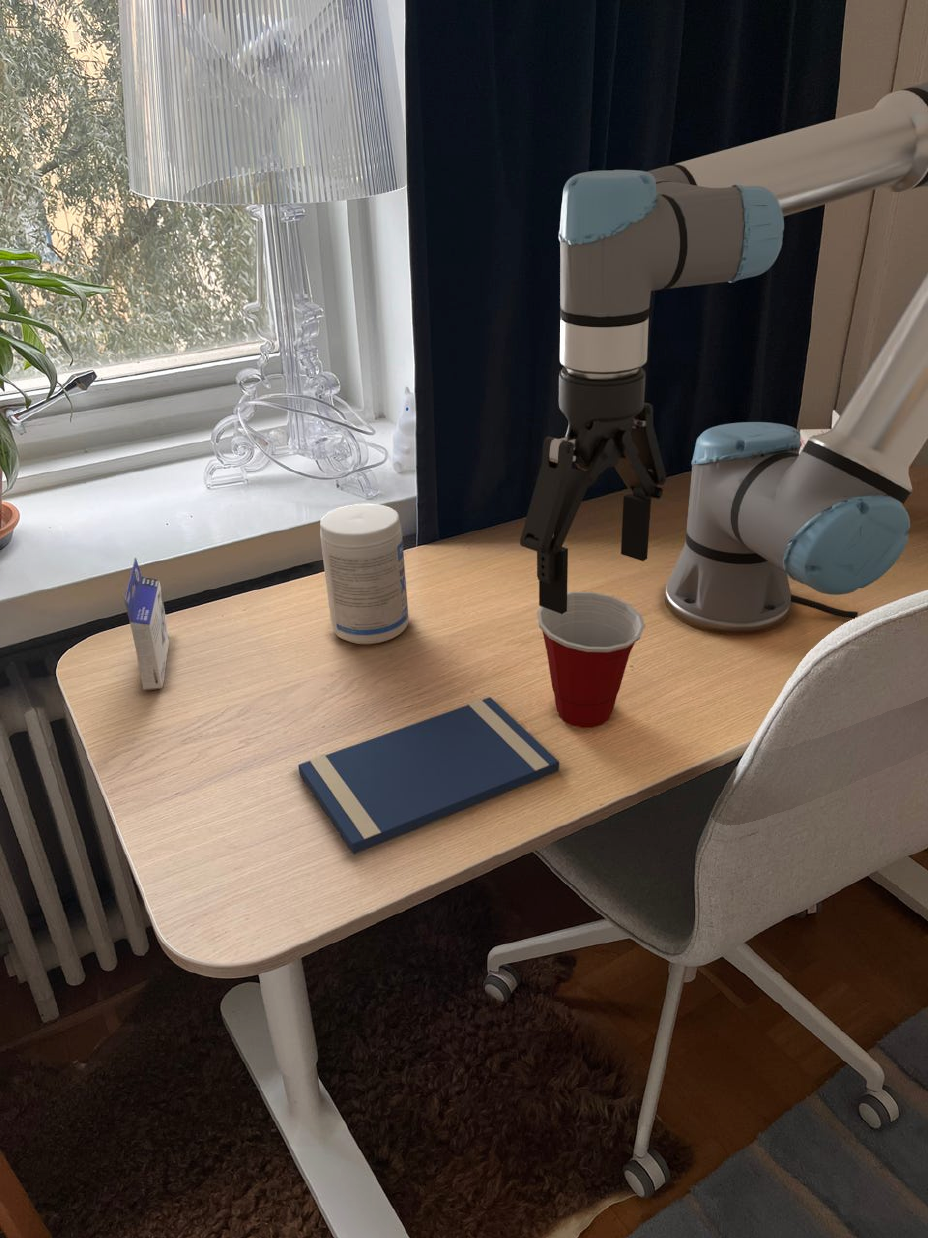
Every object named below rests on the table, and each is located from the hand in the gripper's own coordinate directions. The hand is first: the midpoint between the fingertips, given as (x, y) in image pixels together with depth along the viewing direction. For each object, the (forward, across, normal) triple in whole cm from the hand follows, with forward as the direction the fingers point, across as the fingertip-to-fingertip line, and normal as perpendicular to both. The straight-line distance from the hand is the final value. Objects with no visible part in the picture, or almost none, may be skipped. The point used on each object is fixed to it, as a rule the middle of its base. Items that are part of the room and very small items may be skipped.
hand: (595, 581), depth 95 cm
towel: (+15, +19, -6) cm, 25 cm away
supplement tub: (+16, +3, -31) cm, 35 cm away
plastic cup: (+16, +1, 0) cm, 16 cm away
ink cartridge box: (+17, -63, -4) cm, 65 cm away
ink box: (+15, +25, -44) cm, 53 cm away
